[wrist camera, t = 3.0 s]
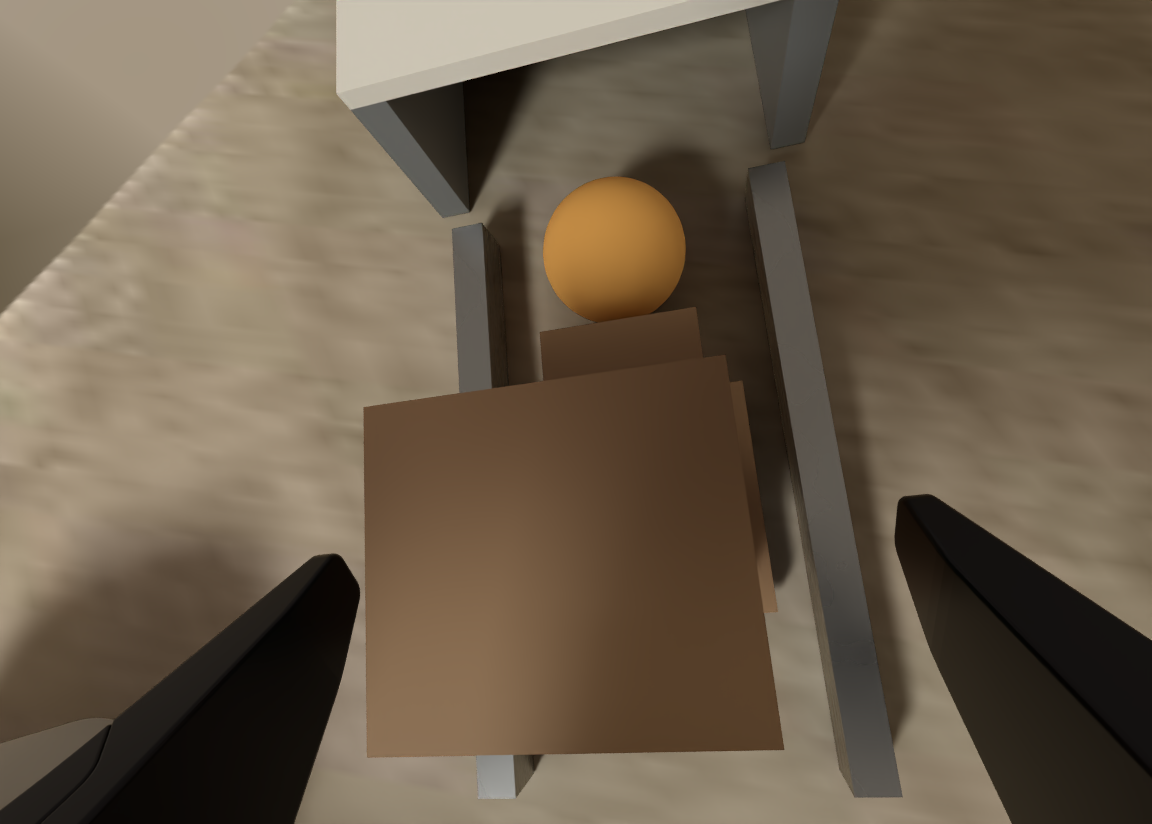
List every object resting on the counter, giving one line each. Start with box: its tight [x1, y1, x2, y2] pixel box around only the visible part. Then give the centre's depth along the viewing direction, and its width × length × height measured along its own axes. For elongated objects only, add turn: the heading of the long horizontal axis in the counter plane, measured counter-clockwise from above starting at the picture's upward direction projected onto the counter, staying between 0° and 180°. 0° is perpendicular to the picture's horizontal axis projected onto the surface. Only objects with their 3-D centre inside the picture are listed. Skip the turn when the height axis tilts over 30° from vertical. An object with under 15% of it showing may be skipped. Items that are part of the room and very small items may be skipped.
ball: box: [543, 177, 686, 322], centre depth 17 cm, size 4×4×4 cm
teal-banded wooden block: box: [364, 307, 784, 758], centre depth 12 cm, size 8×6×11 cm
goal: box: [336, 0, 839, 218], centre depth 17 cm, size 7×12×6 cm, turn 95°
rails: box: [452, 161, 902, 799], centre depth 17 cm, size 16×10×2 cm, turn 5°
